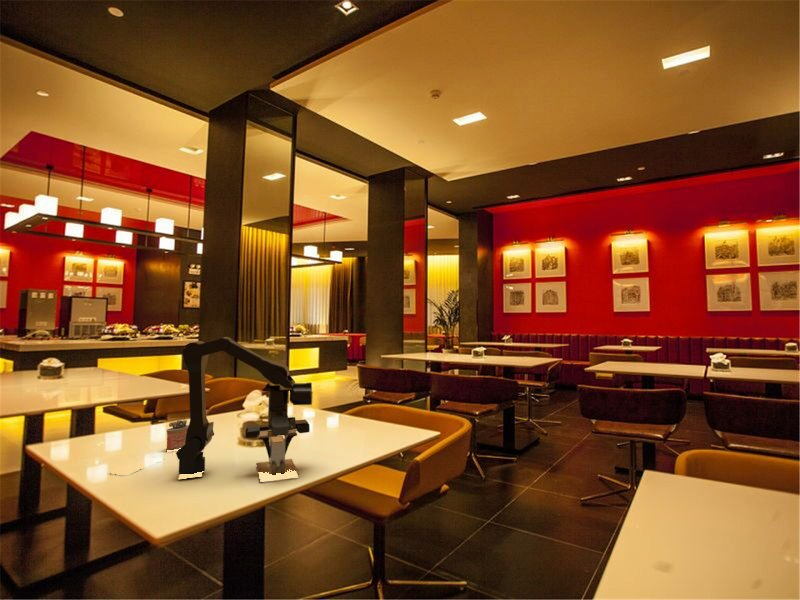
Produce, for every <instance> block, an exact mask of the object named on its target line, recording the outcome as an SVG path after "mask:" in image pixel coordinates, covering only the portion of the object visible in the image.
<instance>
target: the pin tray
mask: <svg viewBox="0 0 800 600" xmlns="http://www.w3.org/2000/svg"><path fill="white" fill-rule="evenodd" d="M256 465H257V469H258V472H263V473H265V472H267V473H268V472H269V474H272V475H276V473H281V474H284V473H285V472H287V470H288V471H289V469H290V470H292V471H294V470H295V471H296V470H297V466H296V465H295V463H294V461H293V459H292V458H287V459H286V458H285V463H281V466H279V467H277V464H272V467H271V466H270V462H269V460H268V461H262V462H256V463H255V466H256ZM257 469H256V470H257ZM297 471H298V470H297ZM290 472H291V471H290Z"/></svg>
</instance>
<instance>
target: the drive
mask: <svg viewBox="0 0 800 600" xmlns="http://www.w3.org/2000/svg"><path fill="white" fill-rule="evenodd" d="M269 444H270V458H269V457H268V461H269V462H270V466H271V467H272V464H277V467H279V466H281V463H285V459H286V455H285V440H284V435H280V436H276V437H274V436H269Z"/></svg>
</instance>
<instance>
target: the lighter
mask: <svg viewBox="0 0 800 600" xmlns="http://www.w3.org/2000/svg"><path fill="white" fill-rule="evenodd" d="M187 422H188V421H187V420H186V419H182V420H181V419H178V420H176V421H172V422H169V423H168V426H169V427H170V428H168V429H166V448H165V451H166V450H174V449H179V448H182V447H183V446H184V445H185V440H186V433H187V429H188V426H189V424H187ZM171 427H172V428H171Z"/></svg>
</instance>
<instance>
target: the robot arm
mask: <svg viewBox="0 0 800 600" xmlns="http://www.w3.org/2000/svg"><path fill="white" fill-rule="evenodd" d="M219 352H224V353H226V354H228V355H230V356H232V357H233V358H235V359H237V360H239V361H241V362H242V363H244V364H246V365H247V366H250V367H251V368H253V369H255V370H256V371H258V372H259V373H260V375H262V376H263V377H264V379H266V380H267V381H268V382H267V384H266V385H265V386H264V387H263V388H261V391H262V392H268V407H267V408H268V409H267V415H268V416H267V425H261V426H260V424H259V422H256V423H247V424H246V425H245V426H244V436H245V439H253V438H258V440H262V442H263V444H264V446H265V449H266V453H267V457H268V459H269V458H270V444H269V437H270V436H269V433H271V437H276V436H283V438H284V440H285V456H286V455H287V451H288V449H289V446H290V443H291V442H292V440H293V438H294V437H297V436H298V433H299V434H306V433H310V431H311V430H310V428H311V427H310V423H309V422H308V420H307V419H297V418H296V417H295V416H288V411H289V410H288V405H289V403H288V401H289V402H290V403H291V404H292V405H293V406H312V405H313V387H312V385H313V383H312V382H311V381H310V382H296V381H295V380H294V379H293V377H292V375H291V374H290V369H289V367H288V366H287V365H286V364H284V363H282V362H279V361H277V360H274V359H269V358H267V357H264V356H262V355H260V354H258V353H256V352H255V351H253V350H252V349H250V348H248V347H245V346H244V345H242V344H240V343H238V342H237V341H235V340H234V339H232V338H231V337H229V336H224V337H220V338H218V339H214V340H211V341H207V342H204V341H202V340H201V341H200V340H198V341H192V342H188V343H187V344H185V346H184V347H183V348H182V351H181V355H182V359H183V362H184V363H183V364H184V367H185V368H186V370H187V373H188V394H189V395H188V396H189V423H188V425H189V426H188V429H187V433H186V440H185V445H184V446H183V447H182V448H181V449H179V450H178V451H175V455H176V457H177V460H178V475H179V474H194V473H197V472H202V471H206V467H205V466H206V457H205V456H204V450H205V448H206V447H207V445H209V443H211V441H212V439H213V437H214V436H215V432H214V421H210V422H209V420H208V418H207V401H206V399H207V398H206V372H205V371H206V367H207V365H208V363H209V362H208V361H209V356H210V355H212V354H214V353H219ZM296 419H297V420H296Z"/></svg>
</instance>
